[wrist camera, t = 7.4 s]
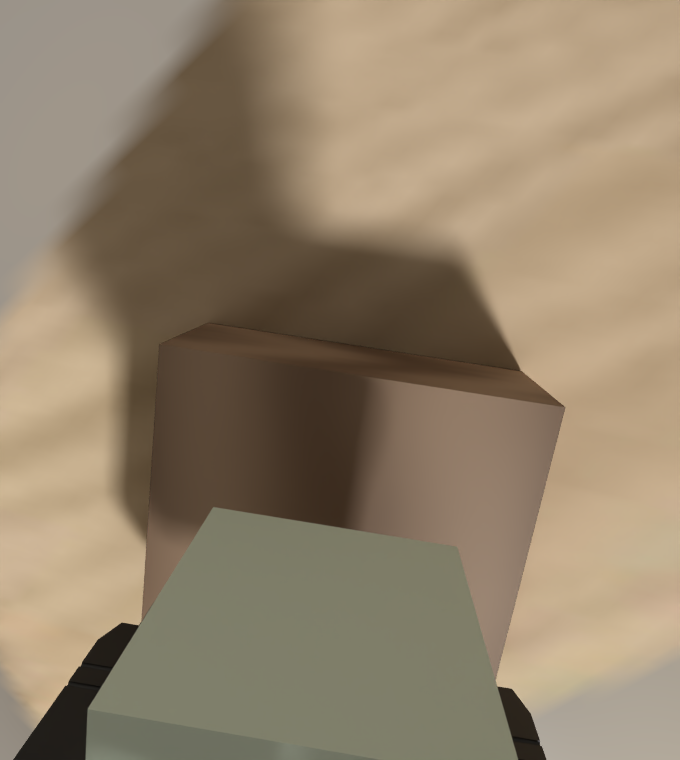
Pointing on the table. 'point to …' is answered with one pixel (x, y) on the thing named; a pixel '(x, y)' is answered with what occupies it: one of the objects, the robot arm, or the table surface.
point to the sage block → (304, 653)
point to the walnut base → (351, 451)
